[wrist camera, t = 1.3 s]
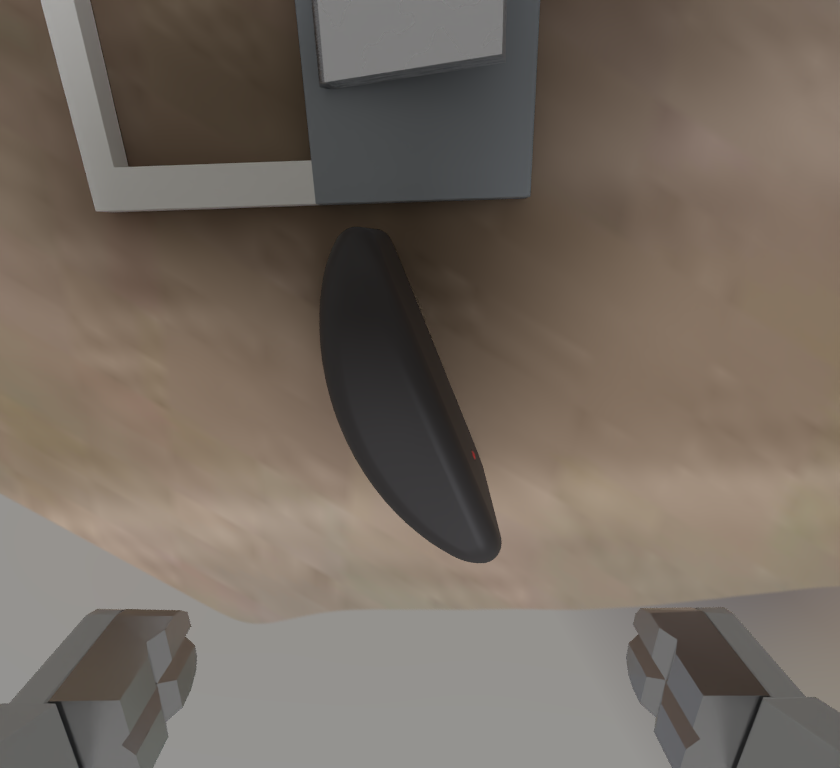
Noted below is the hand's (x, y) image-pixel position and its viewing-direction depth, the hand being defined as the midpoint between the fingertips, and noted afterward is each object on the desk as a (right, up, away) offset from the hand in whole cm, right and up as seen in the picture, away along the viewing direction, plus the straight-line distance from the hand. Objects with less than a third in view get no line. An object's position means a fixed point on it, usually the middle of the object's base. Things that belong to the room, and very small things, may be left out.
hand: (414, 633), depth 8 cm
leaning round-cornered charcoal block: (+1, +6, +18) cm, 19 cm away
